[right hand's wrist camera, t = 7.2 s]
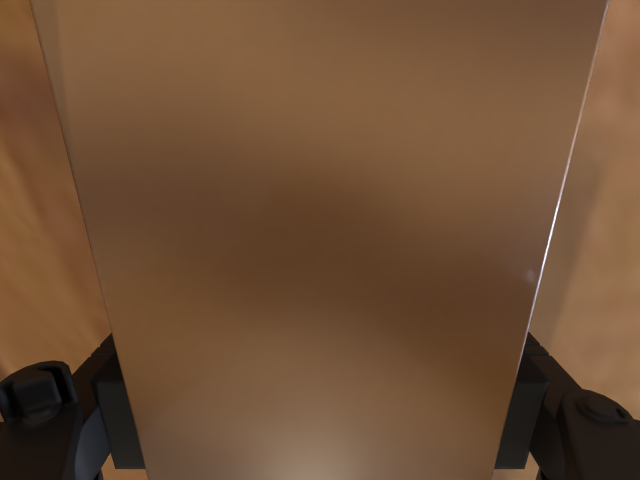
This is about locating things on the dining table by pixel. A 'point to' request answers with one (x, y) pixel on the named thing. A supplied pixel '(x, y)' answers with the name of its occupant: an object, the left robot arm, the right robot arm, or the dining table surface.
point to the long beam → (319, 219)
